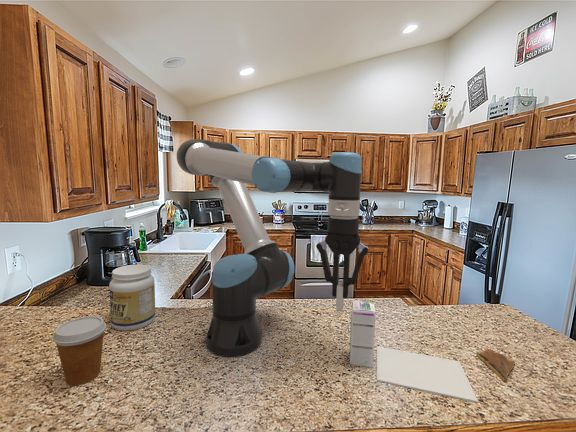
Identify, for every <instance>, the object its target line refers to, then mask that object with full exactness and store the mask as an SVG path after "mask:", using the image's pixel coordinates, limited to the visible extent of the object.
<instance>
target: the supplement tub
mask: <svg viewBox="0 0 576 432" xmlns="http://www.w3.org/2000/svg"><path fill="white" fill-rule="evenodd" d="M151 267H152V266H150V265H147V264H129V265H122V266H119V267H117V268H115V269H113V270H112V272H111V274H112V275H111V278H112V279H111V280H110V282H109V283H108V285H109V286H108V289H109V291H108V292H109V310H110V311H109V312H110V314H109V315H110V325H111V326H112V328H113V329H115V330H119V331H126V332H127V331H134V330H139V329H142V328H145V327H147V326H149V325H150V324H151V323H153V321H154V320H155V318H156V293H155V292H156V289H155V287H156V286H155V278H154V276H153V275H152V274H153V273H152V268H151Z"/></svg>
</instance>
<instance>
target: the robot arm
mask: <svg viewBox="0 0 576 432" xmlns="http://www.w3.org/2000/svg"><path fill="white" fill-rule="evenodd" d="M176 161H177V164H178V166H179V168H180V169H181V170H182V171H184V172H185V173H187V174H189V175H192V176H197V177H198V176H201V177H209V179H210V182H211V185H212V186H213V187H215V188H218V189H219V192H220V194H221V196H222V198H223V199H222V200H223V201H224V204H225V207H226V209H227V211H228V213H229V215H230V217H231V220H232V223H233V225H234V228H235V230H236V232H237V234H238V237H239V240H240V242H241V245H242V246H243V250H244V253H239V254H229V255H226V256H224V257H222V258H220V259H218V260H217V261H216V262H215V263H214V265H213V269H212V277H211V283H212V317H211V321H210V323H209V326H208V330H207V333H206V336H205V337H206V339H205V341H206V342H205V343H206V348H207V349H208V351H210V352H211V353H213V354H215V355H216V356H221V357H229V358H230V357H231V358H232V357H240V356H244V355H247V354H250V353H252V352H253V351H255V350H257V349H258V348H259V346H260V345H261V344H262V341H263V339H262V338H263V337H262V336H263V335H262V334H263V333H262V328H261V325H260V322H259V319H258V315H257V311H256V310H257V309H256V308H257V299H259V298H261V297H264V296H266V295H269V294H271V293H274V292H277V291H280V290H282V289H283V288H285V287H287V286H288V285H289V284H291V282H292V280H293V278H294V275H295V263H294V259H293V258H292V255H290V254H289V253H288V252H286V251H285V250H282V249H280V247H279V245H278V242H277V241H274V240H271V239H270V236H269V235H268V232H267V230H266V228H265V226H264V224H263V221H262V219H261V217H260V214H259V212H258V211H257V210H258V209H257V208H256V205H255V204H254V201H253V199H252V197H251V195H250V192H249V190H248V188H247V185H250V186H254V187H256V189H257V190H258V191H260V192H264V193H271V194H272V193H273V194H276V193H286V192H289V193H292V192H293V193H294V192H296V193H299V192H301V193H302V192H304V193H305V192H311V193H313V192H315V193H318V192H319V193H321V192H323V193H328V203H327V204H328V205H327V209H328V210H327V214H328V216H329V217H328V218H327V233H326V236H325V238H324V240H323V241H319V242H318V243H317V244H316V245H315V246H316V249H317V251H318V252H319V255H320V259H321V264H322V269H323V274H324V280H325V282H326V283H330V284H332V288H331V290H332V293H331V295H332V297H333V298H334V297H335V298H336V300H335V301H336V302H335V312H343V309H344V299H347V298H348V297H349V286H350V285H353V286H355V285H356V282H357V279H358V276H359V273H360V269H361V267H362V263H363V260H364V257H365V256H366V255H367V253H368V252H369V250H370V249H369V246H368V245H364V244H363V243H362V242H361V239H360V237H359V232H360V231H359V227H360V226H359V225H360V220H359V218H358V217H359V216H360V208H361V183H362V174H363V171H362V157H361V155H360V154H359V153H356V152H349V151H343V152H341V151H339V152H338V151H337V152H333V153H331V154H330V157H329V161H325V162H308V161H299V160H290V159H285V158H278V157H271V156H270V157H269V156H265V155H259V154H258V155H257V154H251V153H245V152H243V150H242V149H241V148H240V147H239V146H237V145H236V144H233V143H228V142H219V141H213V140H206V139H200V138H192V139H187V140H186V141H184V142H183V143H182V144H181V145H180V146H179V147H178V149H177V151H176ZM327 246H328V247H327ZM357 247H358V250H357V252H358V256H357V259H356V263H355V266H354V269H353V271H352V276H351V278H350V266H351V265H350V262H351V261H350V260H351V254H352V253H353V252H354V251H355V250H356V249H357ZM327 248H329V249H330V251H331V252H332V253H333V254H332V255H333V256H332V258H333V261H332V262H333V263H332V271H331V267H330V261H329V257H328V253H327ZM341 255H343V276H342V282H340V281H339V280H340V278H339V276H340V256H341Z"/></svg>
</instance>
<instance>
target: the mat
mask: <svg viewBox="0 0 576 432" xmlns="http://www.w3.org/2000/svg"><path fill="white" fill-rule="evenodd" d="M376 381H377V382H379V383H384V384H389V385H393V386H397V387H402V388H407V389H411V390H416V391H420V392H425V393H429V394H430V393H431V394H434V395H440V396H444V397H449V398H453V399H457V400H463V401H466V402H471V403H476V404H478V403H479V400H478V398H477V396H476V394H475V391H474V389H473V388H472V386H471V383H470V381H469V378H468V377H467V374H466V373H465V370H464V368H463V366H462V364H461V361H460V360H454V359H450V358H449V359H448V358H443V357H438V356H432V355H427V354H421V353H416V352H410V351H404V350H399V349H394V348H390V347H389V348H388V347H382V346H378V345H377V346H376Z"/></svg>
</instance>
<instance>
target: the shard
mask: <svg viewBox="0 0 576 432" xmlns="http://www.w3.org/2000/svg"><path fill="white" fill-rule="evenodd" d="M476 357H477V358H478V359H480V360H481V361H482V362H484V364H485V365H486V366H487V367H488V369H490V370H491V371H492V372H493V373H494V374H495V375H496V376H497V377H498V378H499V379H500V380H501V381H503V382H506V380H507V378H508V375H509V373H511V371H512V369H513V368H514V366H515V364H516V361H515V360H514V359H512V358H511V357H510V356H507V355H505V354H503V353H501V352H499V351H498V352H497V351H495V350H492V349H490V348H484V349H483V350H482V351H479V352H477V353H476Z"/></svg>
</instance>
